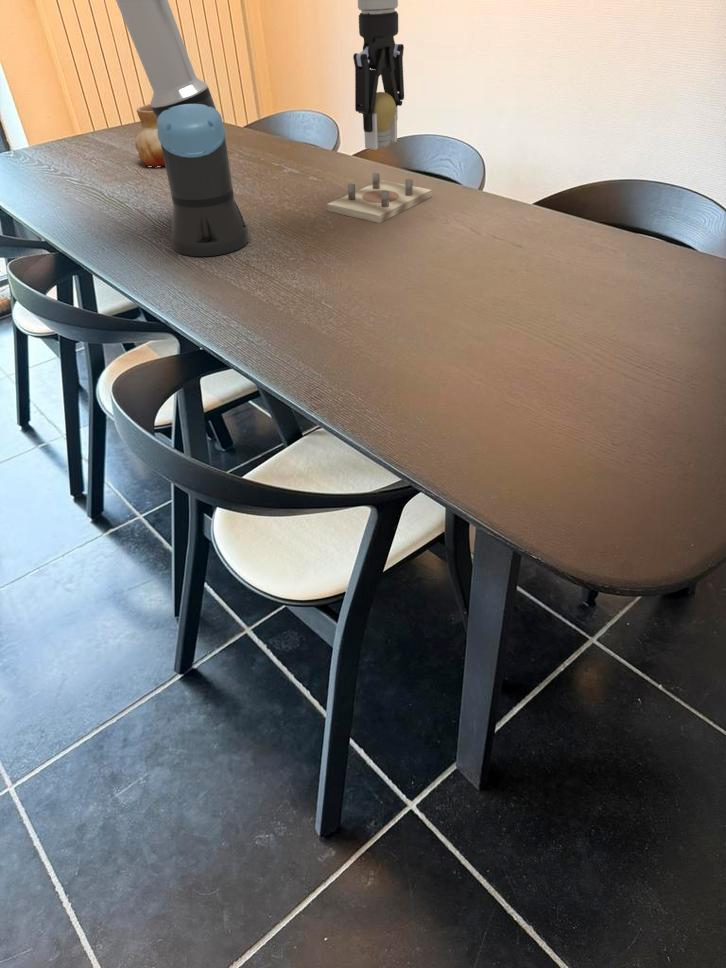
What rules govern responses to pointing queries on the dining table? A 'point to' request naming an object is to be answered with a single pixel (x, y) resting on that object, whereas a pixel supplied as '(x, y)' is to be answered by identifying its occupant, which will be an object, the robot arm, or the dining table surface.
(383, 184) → the pin nest
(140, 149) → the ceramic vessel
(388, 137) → the light bulb
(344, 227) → the dining table surface
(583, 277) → the dining table surface
